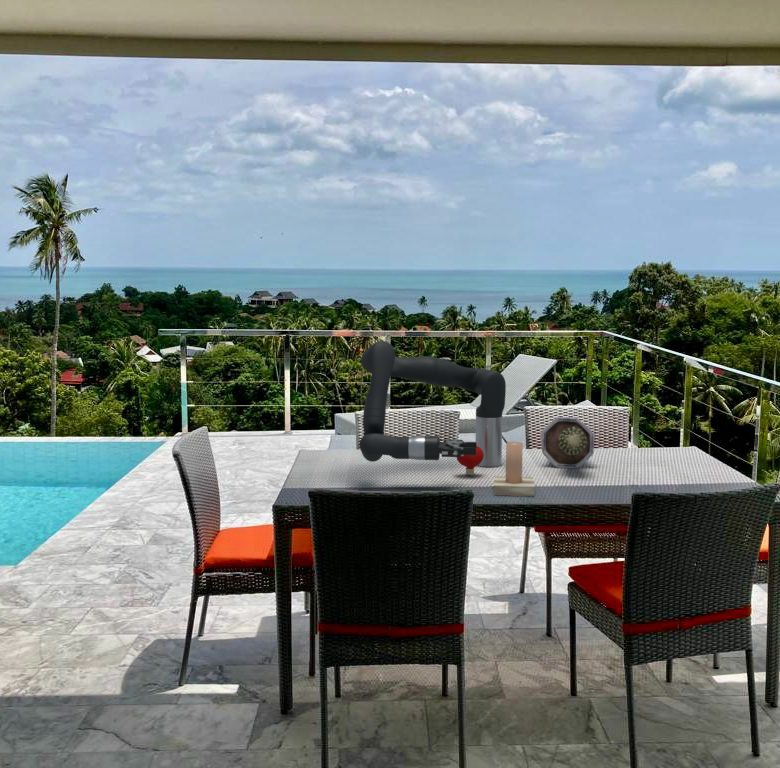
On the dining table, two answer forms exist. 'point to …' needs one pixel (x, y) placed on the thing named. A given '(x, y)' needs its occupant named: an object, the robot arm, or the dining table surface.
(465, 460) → the red heart
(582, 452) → the potted plant
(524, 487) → the base slab
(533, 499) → the dining table surface
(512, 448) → the tall pink cylinder
